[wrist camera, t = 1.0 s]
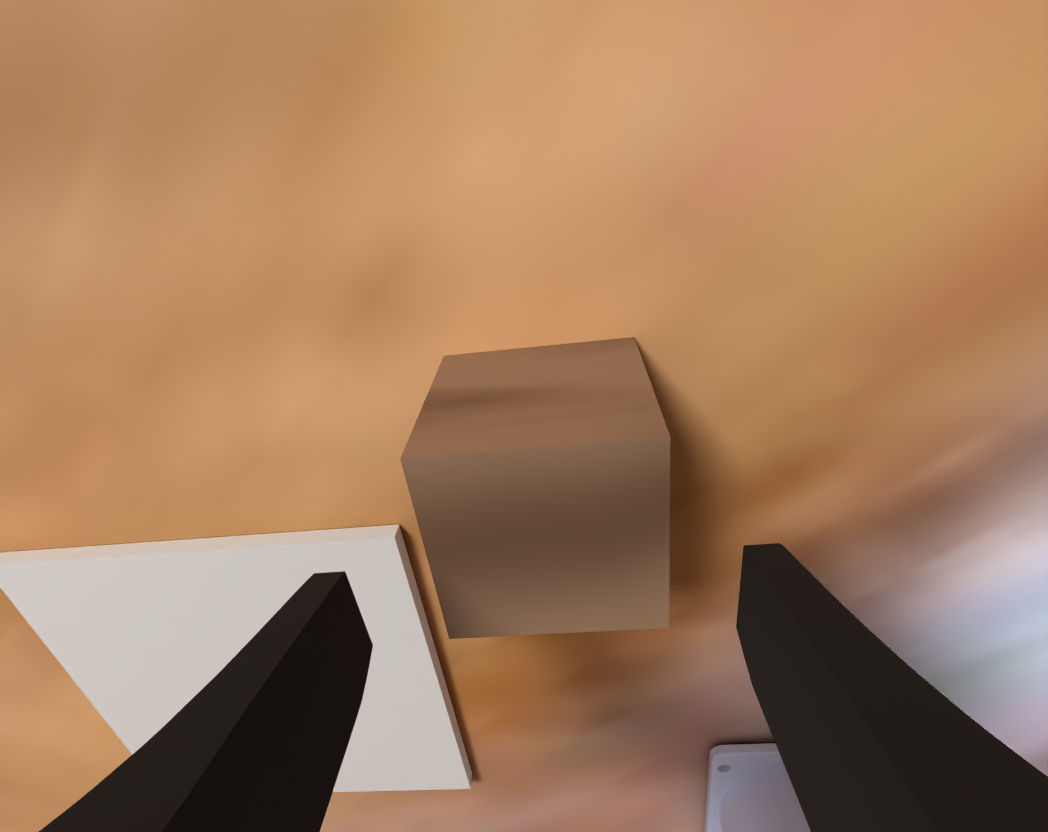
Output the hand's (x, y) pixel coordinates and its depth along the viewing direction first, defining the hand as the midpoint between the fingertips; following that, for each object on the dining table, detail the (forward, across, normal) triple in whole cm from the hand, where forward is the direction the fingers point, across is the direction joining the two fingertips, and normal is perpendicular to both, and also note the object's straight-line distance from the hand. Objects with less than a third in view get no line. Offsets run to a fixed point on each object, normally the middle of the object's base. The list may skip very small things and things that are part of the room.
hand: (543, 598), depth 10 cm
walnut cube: (+6, 0, 0) cm, 6 cm away
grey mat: (+6, +12, +10) cm, 17 cm away
